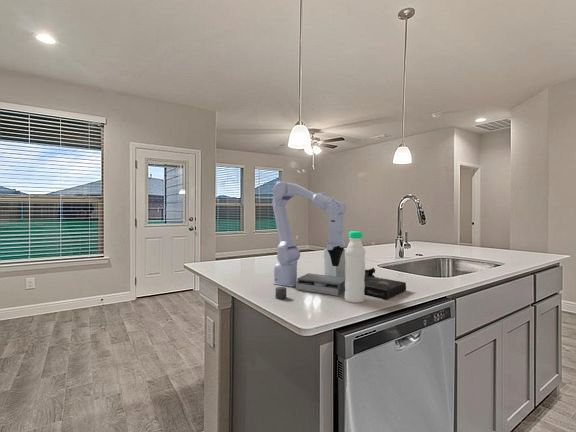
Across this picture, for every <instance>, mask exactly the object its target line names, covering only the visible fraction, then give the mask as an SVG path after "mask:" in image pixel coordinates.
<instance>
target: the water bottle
mask: <svg viewBox="0 0 576 432" xmlns="http://www.w3.org/2000/svg"><path fill="white" fill-rule="evenodd" d="M348 238H349V243H348V244H347V247H346V249H345V279H346V280H345V292H344V300H345V301H347V303H353V304H359V303H363V302H364V301H365V297H366V295H365V294H364V288H365V283H364V278H365V270H366V250H365V248H364V246H363V244H362V238H363V232H361V231H359V230H358V231H355V230H353V231H349V232H348Z"/></svg>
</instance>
